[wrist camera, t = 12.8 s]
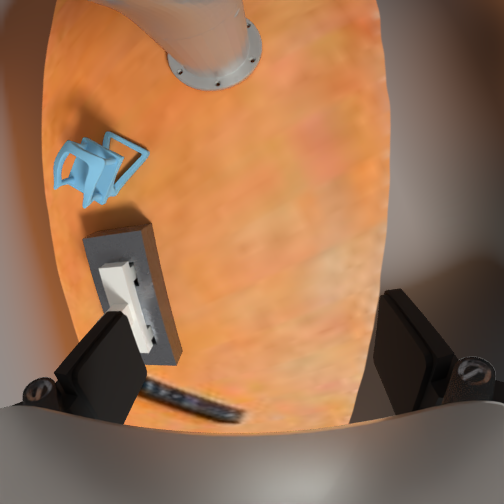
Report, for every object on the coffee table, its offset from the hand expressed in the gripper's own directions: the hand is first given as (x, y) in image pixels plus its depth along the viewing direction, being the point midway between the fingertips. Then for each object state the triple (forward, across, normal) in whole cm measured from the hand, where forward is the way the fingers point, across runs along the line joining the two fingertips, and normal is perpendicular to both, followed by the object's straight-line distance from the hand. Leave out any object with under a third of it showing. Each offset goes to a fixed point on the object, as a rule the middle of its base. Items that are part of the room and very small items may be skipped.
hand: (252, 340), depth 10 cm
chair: (+31, +20, -8) cm, 37 cm away
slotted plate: (+30, +21, +12) cm, 39 cm away
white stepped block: (+30, +21, +12) cm, 38 cm away
